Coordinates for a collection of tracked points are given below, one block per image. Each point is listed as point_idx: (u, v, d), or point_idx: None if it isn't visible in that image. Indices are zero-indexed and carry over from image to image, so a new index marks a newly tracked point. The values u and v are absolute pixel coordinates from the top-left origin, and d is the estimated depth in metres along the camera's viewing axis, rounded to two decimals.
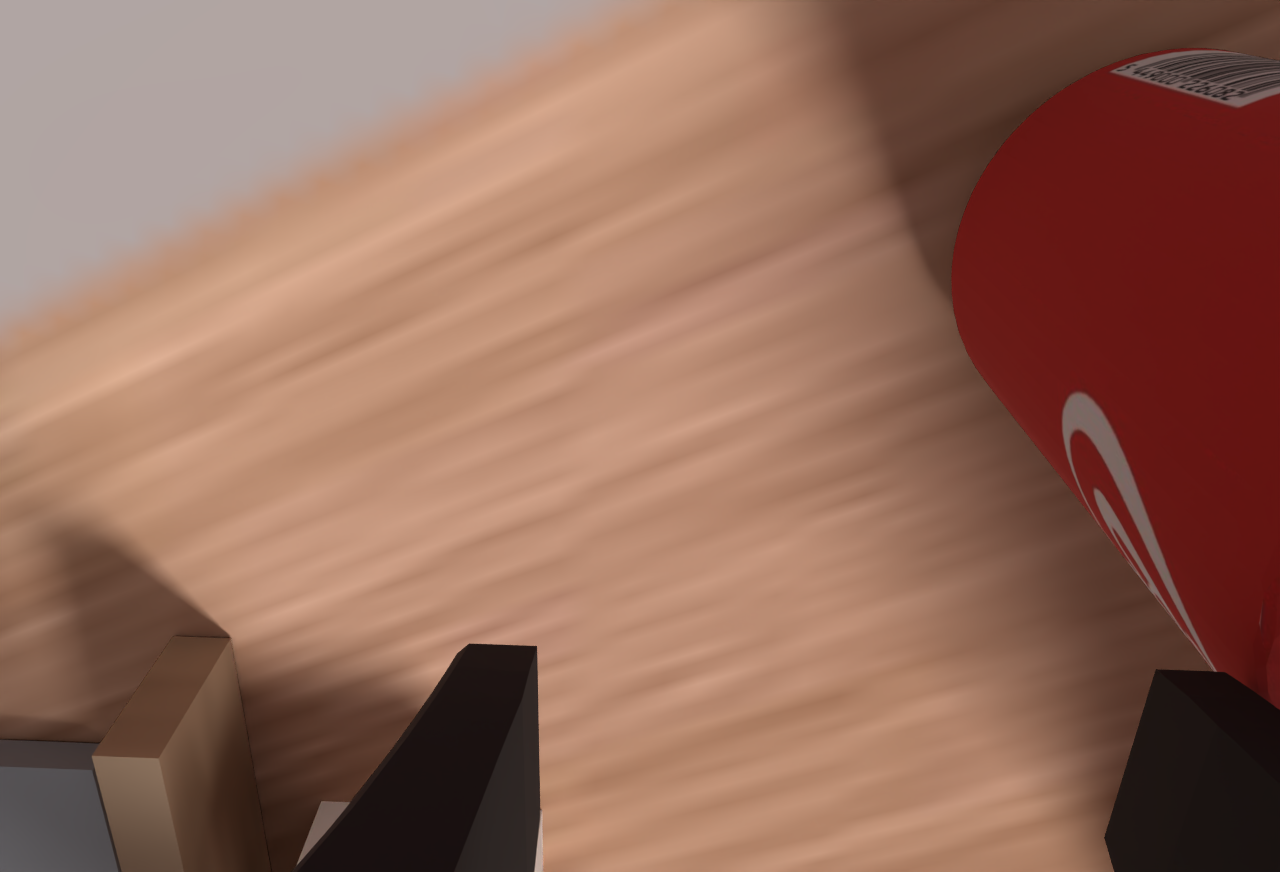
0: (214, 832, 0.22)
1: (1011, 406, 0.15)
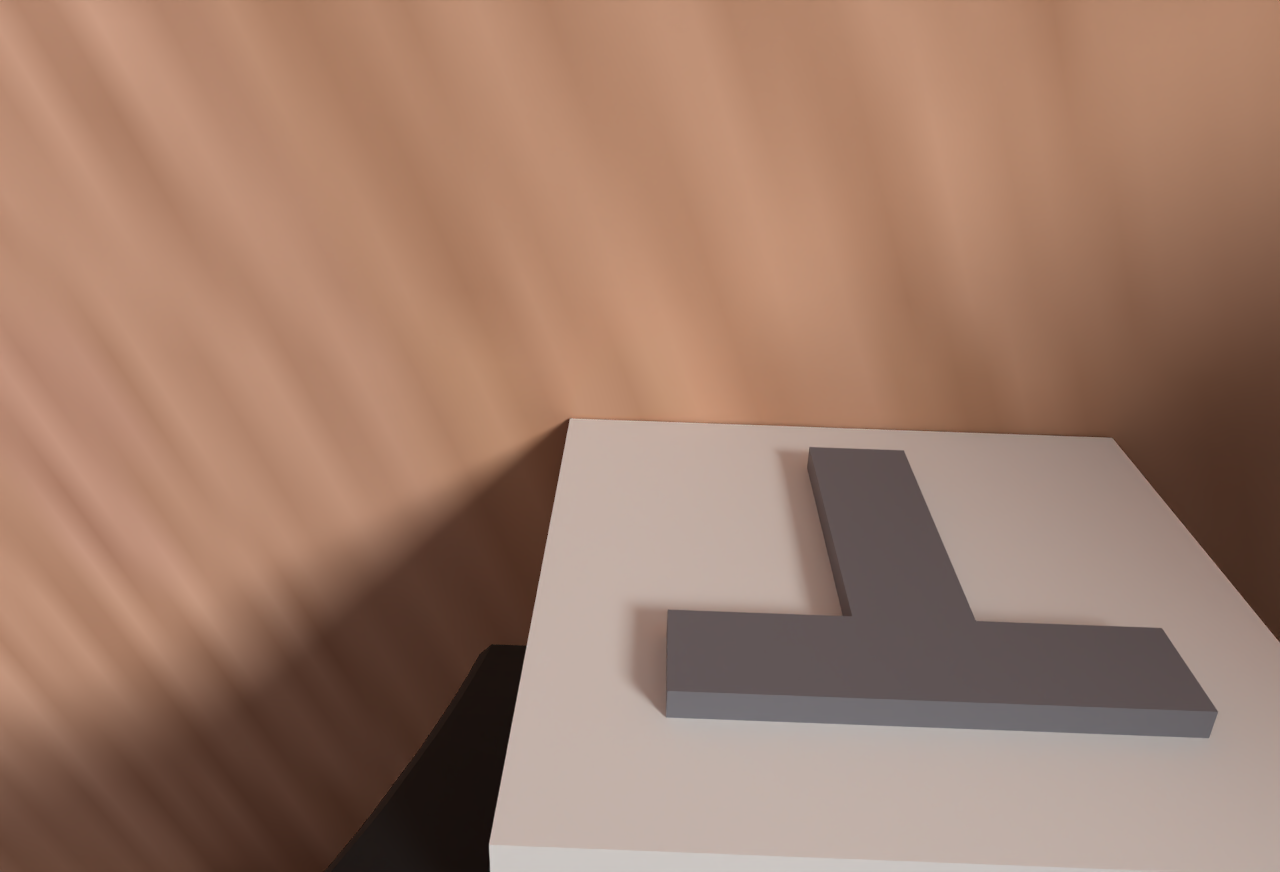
0: None
1: None
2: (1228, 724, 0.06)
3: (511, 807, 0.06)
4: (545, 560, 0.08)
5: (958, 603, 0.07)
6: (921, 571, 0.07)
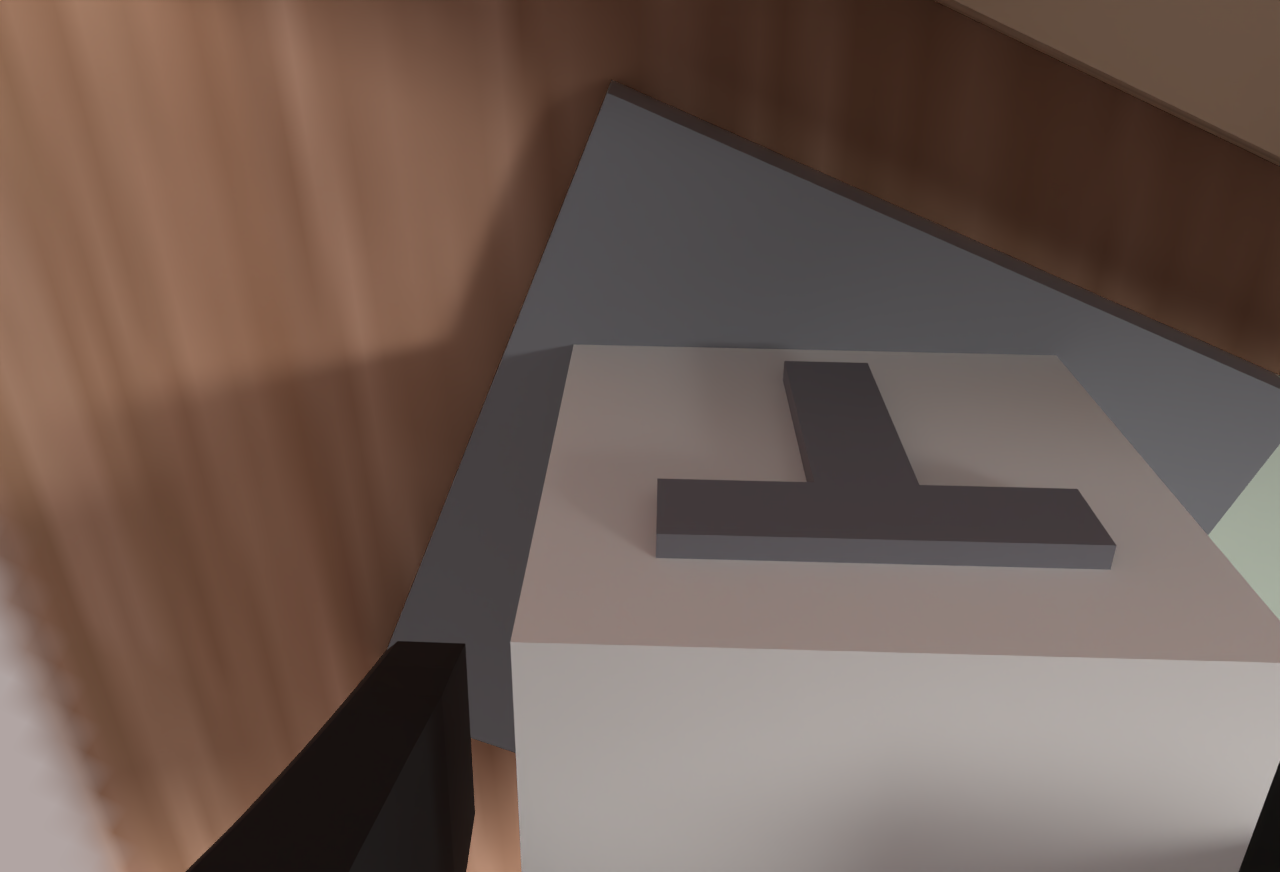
0: None
1: None
2: (1128, 560, 0.08)
3: (528, 617, 0.07)
4: (553, 449, 0.09)
5: (905, 472, 0.08)
6: (876, 452, 0.09)
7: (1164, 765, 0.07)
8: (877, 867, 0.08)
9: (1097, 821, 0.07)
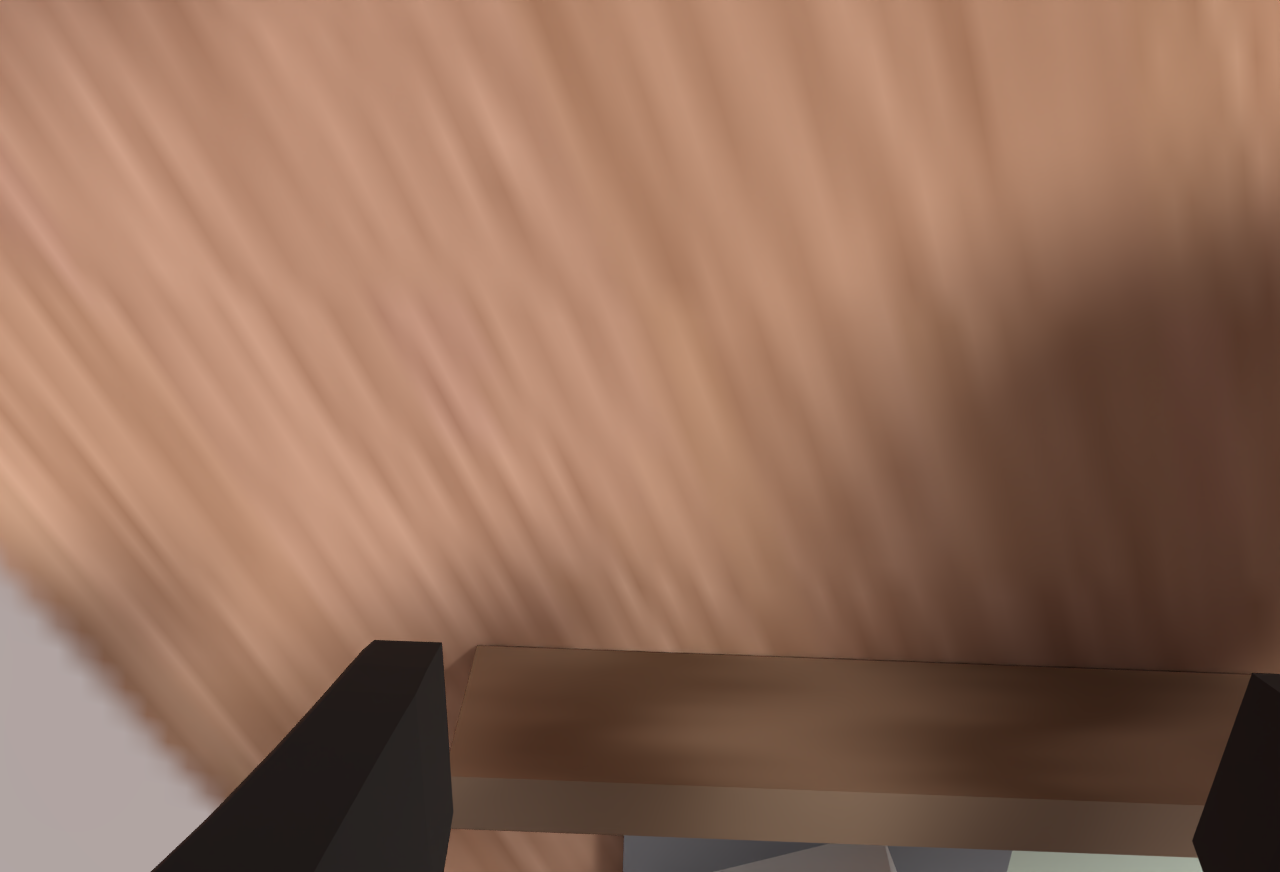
0: (638, 727, 0.19)
1: None
2: None
3: None
4: None
5: None
6: None
7: None
8: None
9: None
